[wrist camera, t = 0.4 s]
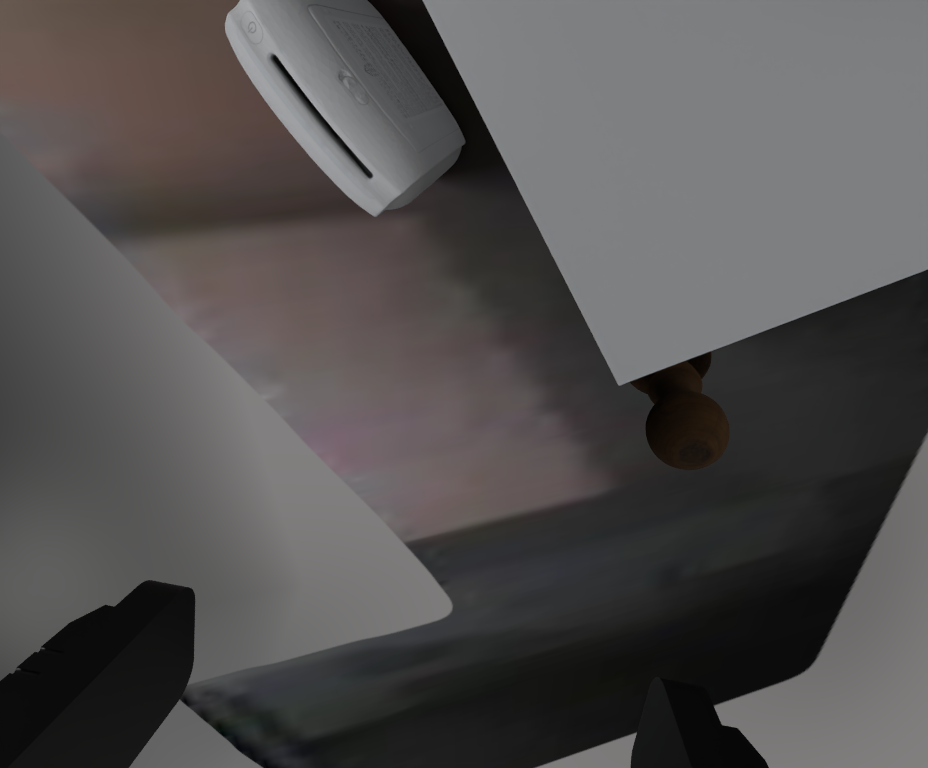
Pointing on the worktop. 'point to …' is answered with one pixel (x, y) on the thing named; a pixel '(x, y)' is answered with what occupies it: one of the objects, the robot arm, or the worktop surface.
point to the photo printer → (348, 95)
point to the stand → (706, 155)
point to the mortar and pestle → (684, 415)
